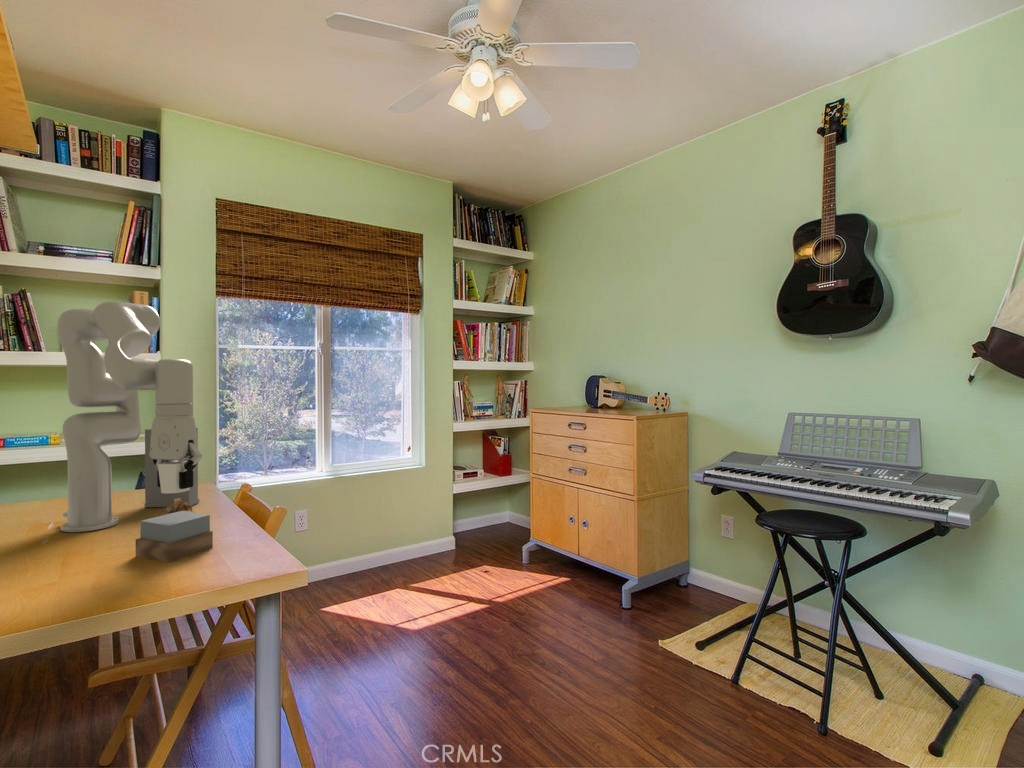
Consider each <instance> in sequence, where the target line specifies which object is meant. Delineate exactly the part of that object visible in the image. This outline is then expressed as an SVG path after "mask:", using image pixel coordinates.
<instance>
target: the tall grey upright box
mask: <svg viewBox="0 0 1024 768" xmlns="http://www.w3.org/2000/svg"><path fill="white" fill-rule="evenodd" d="M151 430H152V427H151V428H146V429H144V455H145V456H144V478H145V479H144V480H145V481H144V482H145V483H144V490H145V491H144V493H145V494H144V495H145V497H144V498H145V499H144V500H145V501H144V502H145V503H144V508H146V507H149V508H167V507H169V506H170V505H171V504H172V503H173V500H174V499H177V498H180V499H183V500H185V501H186V502H187V503H188V504H189V505H190V507H192V506H194V505H197V504H200V498H199V479H198V478H199V474H198V473H199V469H198V468H199V467H198V466H199V463H198V464H197V465H196V466H195V470H193V487H190V489H189V490H188V491H185V492H180V493H167V494H165V493H161V487H158V486H157V470H156V469H155V464H154V463H153V460H152V458H151V457H150V456H149V453H150V441H151ZM196 432H197V449H198V450H199V447H198V446H199V445H198V443H199V442H198V441H199V440H198V439H199V438H198V437H199V436H198V434H199V432H198V427H196ZM165 461H166V460H165Z"/></svg>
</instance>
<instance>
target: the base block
mask: <svg viewBox="0 0 1024 768" xmlns="http://www.w3.org/2000/svg"><path fill="white" fill-rule="evenodd" d="M213 532H214V531H213V530H210V531H209V532H206V533H202V534H199V535H196V536H192V537H189V538H185V539H182V540H179V541H175V542H172V543H165V542H160V541H154V540H149V539H144V538H141V537H139V538H135V557H136V558H140V557H141V558H140V559H146V558H148V559H147V560H151V559H153V561H157V560H158V562H163V561H164V563H168V562H170V563H173V562H175V560H176V561H178V559H179V560H182V559H185V558H187V557H190V556H193V555H196V554H198V552H199V553H202V552H204V550H205V551H207V549H208V550H210V549H209V548H211V549H213V548H212V547H214V545H213V544H214V543H213V541H214V539H213V536H214V533H213ZM201 551H202V552H201ZM195 553H196V554H195ZM192 554H193V555H192ZM186 556H187V557H186ZM184 557H185V558H184ZM181 558H182V559H181ZM172 561H173V562H172Z"/></svg>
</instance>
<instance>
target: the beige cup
mask: <svg viewBox="0 0 1024 768" xmlns="http://www.w3.org/2000/svg"><path fill="white" fill-rule="evenodd" d="M187 463H188V462H187V461H185V464H187ZM158 470H159V478H160V486H161V493H165V494H167V493H180V492H185V491H188V490H189V489H190V488H185V489H180V488H179V472H182V471H181V468H180V463H179V462H178V460H177V461H172V460H171V461H164V462H160V463H158Z"/></svg>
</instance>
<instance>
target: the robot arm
mask: <svg viewBox="0 0 1024 768" xmlns="http://www.w3.org/2000/svg"><path fill="white" fill-rule="evenodd" d="M160 326H161V318H160V315H159V314H158V312H157V310H156V309H155V308H154V307H152V306H150V305H148V304H144V303H143V304H141V303H140V304H139V303H132V302H131V303H130V302H122V301H105V302H102V303H99V304H98V305H97V306H95V308H94V309H91V308H71V309H68V310H65V311H64V312H61V314H60V315H59V317H58V320H57V327H56V328H57V330H56V331H57V336H58V340H59V342H60V345H61V347H62V350H63V352H64V355H65V360H66V375H67V376H66V378H67V380H66V381H67V393H68V400H69V402H70V404H71V405H73V407H74V406H75V407H77V408H85V409H86V408H90V409H91V408H111V407H112V408H115V411H95V412H82V413H81V412H80V413H76V414H73V415H70V416H69V417H67V418H66V419H65V420H64V421H63V425H62V435H63V440H64V444H65V449H66V458H67V463H66V464H67V510H66V512H64V513H63V515H62V516H63V518H67V520H66V522H65V523H63V524H61V525H60V531H61V532H64V533H82V532H92V531H97V530H102V529H106V528H110V527H111V528H112V527H113V526H116V525H118V524H119V523H120V522H119V520H120V519H119V517H117V516H113V501H112V500H113V498H112V497H113V496H112V495H113V490H112V489H113V488H112V486H113V485H112V484H113V483H112V482H113V481H112V480H113V479H112V478H113V474H112V461H111V458H110V457H109V455H108V454H107V453H106V452H105V451H104V450H103V449H102V447H104V446H105V447H106V446H116V445H125V444H130V443H133V442H135V441H137V440H138V439H139V437H140V434H141V427H142V426H141V408H140V407H141V406H140V405H141V404H140V392H139V391H149V390H150V391H151V390H152V391H153V390H154V391H155V417H153V420H152V426H151V428H152V430H151V441H150V453H149V456H150V457H151V458H152V460H153V463H154V464H155V469H156V470H157V486H158V487H161V486H160V478H159V470H158V463H160V462H164V461H165V460H166V461H171V460H172V461H177V460H178V462H179V463H180V468H181V471H182V472H179V488H180V489H185V488H190V487H193V470H195V466H196V465H197V464H198V465H199V462H200V461H201V459H202V458H203V454H202V453H201V452H200V451H199V448H198V449H197V432H196V428H197V427H196V420H195V417H194V368H193V367H194V366H193V363H192V362H191V361H190V360H188V359H179V358H178V359H177V358H164V359H163V358H161V359H159V358H139V357H136V356H138V355H141V354H143V353H144V352H145V351H147V350H148V348H149V347H150V346H151V343H152V336H154V335H155V334H157V332H158V331H159V330H160ZM92 341H94V342H95V341H97V342H108V343H109V344H107V346H106V348H105V351H104V353H103V352H102V350H101V349H100V348H99V347H98V346H97V345H96V344H95V343H93V342H92ZM134 357H135V358H134ZM185 461H187V462H188V463H187V464H185Z"/></svg>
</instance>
